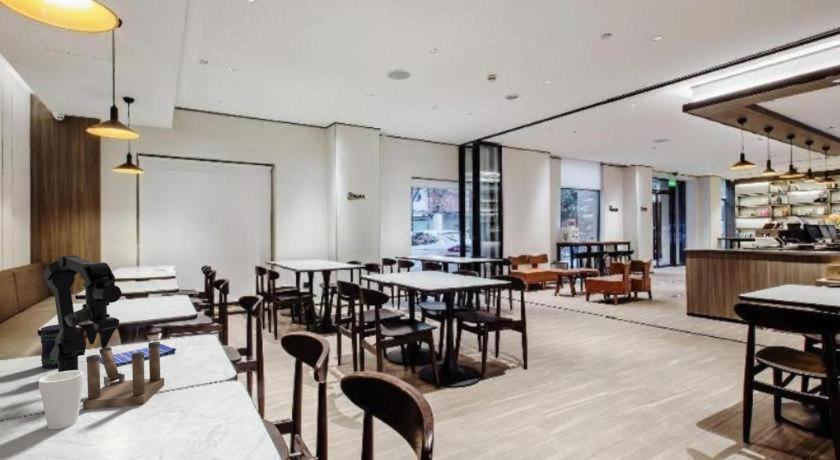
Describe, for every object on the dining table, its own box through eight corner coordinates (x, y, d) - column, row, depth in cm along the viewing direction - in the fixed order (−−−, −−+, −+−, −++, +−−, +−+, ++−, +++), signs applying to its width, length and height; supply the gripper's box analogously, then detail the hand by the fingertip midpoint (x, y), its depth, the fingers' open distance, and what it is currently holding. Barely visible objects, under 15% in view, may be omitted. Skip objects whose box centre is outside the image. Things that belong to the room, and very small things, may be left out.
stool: (80, 409, 127) (78, 359, 127) (109, 388, 144) (108, 343, 144) (143, 404, 131) (142, 354, 130) (165, 384, 147) (164, 340, 147)
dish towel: (178, 354, 183) (177, 347, 183) (111, 369, 165) (110, 362, 165) (161, 347, 194) (161, 341, 194) (97, 361, 176) (97, 354, 176)
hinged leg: (106, 383, 141) (97, 352, 145) (118, 379, 144) (109, 349, 147) (110, 378, 140) (101, 347, 143) (121, 375, 142) (112, 345, 146)
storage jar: (72, 359, 177) (71, 322, 177) (76, 364, 170) (75, 326, 170) (39, 365, 170) (38, 327, 169) (42, 371, 163) (41, 331, 163)
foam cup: (93, 418, 121) (91, 372, 121) (55, 434, 113) (54, 383, 112) (69, 414, 124) (68, 369, 124) (31, 429, 116) (30, 380, 115)
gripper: (55, 301, 146) (57, 347, 147) (79, 307, 136) (81, 357, 137) (94, 296, 156) (95, 339, 156) (119, 301, 146) (121, 347, 146)
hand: (97, 345), depth 149 cm, fingers open, 9 cm apart
